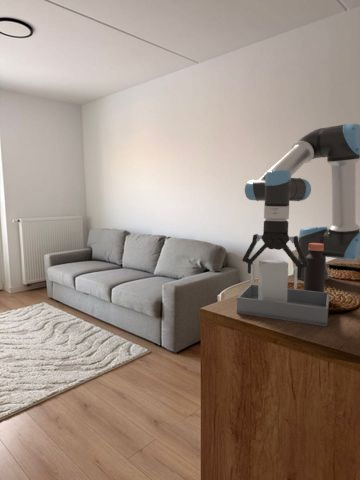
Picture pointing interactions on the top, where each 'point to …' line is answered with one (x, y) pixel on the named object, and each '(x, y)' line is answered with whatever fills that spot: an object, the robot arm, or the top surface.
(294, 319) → the tray
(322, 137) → the robot arm
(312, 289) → the vinegar
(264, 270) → the skincare box
